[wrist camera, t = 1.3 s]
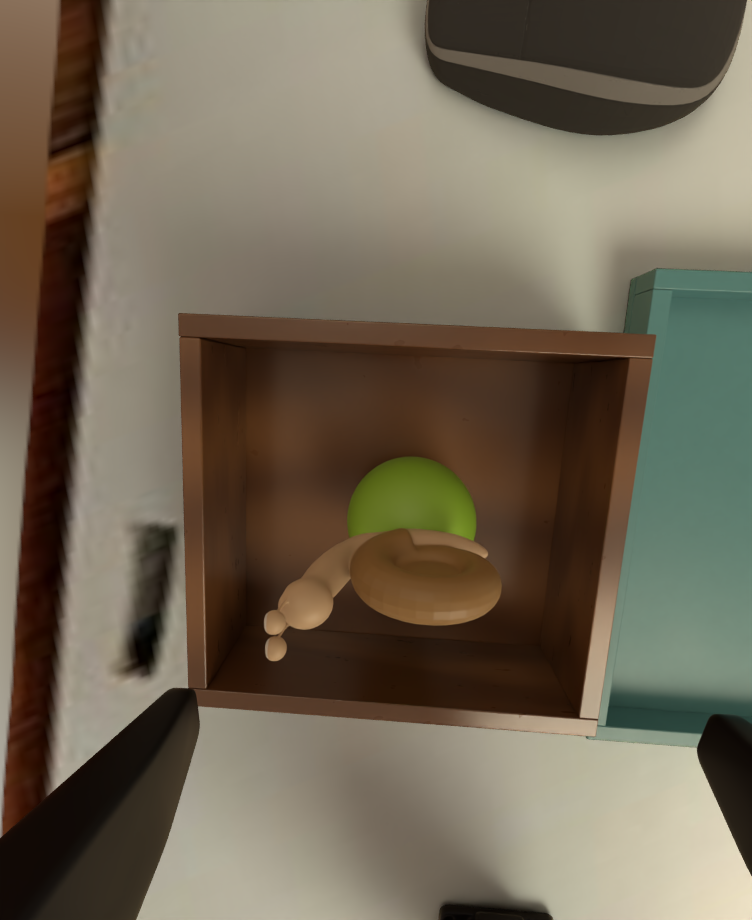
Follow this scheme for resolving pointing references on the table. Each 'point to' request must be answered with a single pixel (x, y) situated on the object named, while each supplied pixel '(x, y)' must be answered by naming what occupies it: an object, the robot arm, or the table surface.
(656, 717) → the tray
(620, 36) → the computer mouse
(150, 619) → the table surface
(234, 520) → the wooden box
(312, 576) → the snail figurine
